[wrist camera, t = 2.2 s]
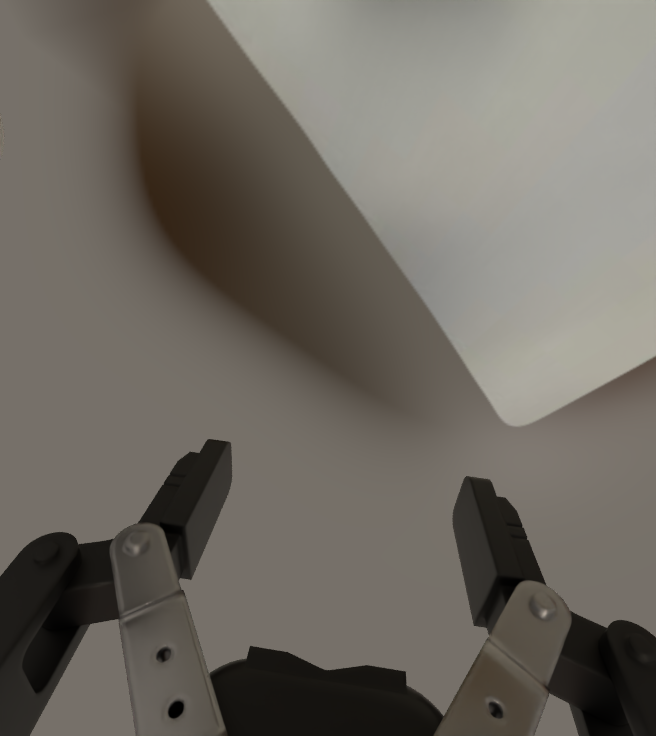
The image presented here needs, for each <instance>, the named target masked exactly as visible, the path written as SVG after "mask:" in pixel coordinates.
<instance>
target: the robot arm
mask: <svg viewBox="0 0 656 736" xmlns="http://www.w3.org/2000/svg"><path fill="white" fill-rule="evenodd" d="M231 481H232V456H231V443H230V442H226V441H219V440H212V439H208V440H207V441H206V443H205V444H204V446H203V448H202V450H201V451H200V453H195V452H189V453H188V454H187V455H185V456H184V457H183V458H181V459H180V460H179V461H178V462H177V463H176V465H175V466H174V468H173V469H172V471H171V473H170V475H169V476H168V477H167V479H166V480H165V482H164V485H162V487H161V488H160V490H159V491H158V493H157V495H156V496H155V498H154V499H153V501H152V502H151V504H150V505H149V507H148V508H147V510H146V512H145V513H144V515H143V516H142V518H141V520H140V521H139V522H138V523H137V524H134V525H131V526H129V527H127V528H125V529H124V530H123V531H121V532H120V533H119V534H118V535H117V536H116V537H115V538H114V539H111V540H106V541H100V542H92V543H85V544H78V543H77V540H76V538H75V537H74V536H73V535H71V534H69V533H64V532H56V533H51V534H47V535H44V536H41V537H39V538H37V539H36V540H34V541H32V542H31V543H29V544H28V545H27V546H26V547H25V548H23V550H22V551H21V552H20V553H19V554H18V555H17V557H16V558H15V559H14V560H13V562H12V563H11V564H10V565H9V566H8V568H7V569H6V570H5V571H4V573H3V574H2V575H1V576H0V736H30V734H31V732H32V730H33V729H34V727H35V725H36V723H37V721H38V719H39V717H40V716H41V714H42V712H43V710H44V708H45V706H46V705H47V703H48V701H49V699H50V697H51V695H52V693H53V692H54V690H55V688H56V686H57V684H58V682H59V680H60V679H61V677H62V675H63V673H64V671H65V670H66V668H67V666H68V664H69V662H70V660H71V658H72V657H73V655H74V653H75V651H76V649H77V647H78V645H79V644H80V642H81V640H82V638H83V636H84V634H85V633H86V631H87V629H88V627H89V625H90V624H92V623H98V622H103V621H109V620H115V619H119V627H120V634H121V640H122V647H123V654H124V660H125V667H126V673H127V680H128V687H129V693H130V700H131V706H132V712H133V719H134V726H135V732H136V736H534V735H535V732H536V729H537V727H538V724H539V721H540V718H541V716H542V713H543V710H544V707H545V705H546V702H547V699H548V696H549V693H550V694H553V695H554V696H556V697H558V698H560V699H562V700H564V701H566V702H568V703H569V705H570V708H571V711H572V714H573V718H574V721H575V724H576V728H577V731H578V734H579V736H656V637H655V636H653V635H652V634H651V633H650V632H648V631H647V630H646V629H644V628H642V627H640V626H639V625H637V624H634V623H632V622H629V621H624V620H617V621H614V622H612V623H611V624H610V625H609V626H608V628H605V627H603V626H601V625H599V624H597V623H594V622H592V621H590V620H587V619H586V618H583V617H581V616H579V615H577V614H575V613H573V612H572V611H570V610H569V608H568V607H567V605H566V603H565V602H564V600H563V599H562V598H561V597H560V596H559V595H558V594H557V593H556V592H555V591H554V590H553V589H551V588H550V587H548V586H547V585H546V583H545V581H544V578H543V576H542V573H541V571H540V568H539V566H538V563H537V561H536V558H535V556H534V553H533V551H532V548H531V546H530V543H529V541H528V540H527V536H526V533H525V531H524V528H522V523H521V521H520V518H519V516H518V513H517V511H516V510H515V508H514V507H513V506H512V505H511V504H510V503H509V501H508V500H507V499H506V498H503V497H497V496H496V493H495V490H494V487H493V485H492V482H491V481H490V480H489V479H483V478H476V477H469V476H466V477H465V478H464V481H463V483H462V486H461V489H460V492H459V495H458V498H457V501H456V504H455V507H454V510H453V529H454V533H455V538H456V543H457V547H458V552H459V557H460V562H461V567H462V572H463V576H464V581H465V585H466V591H467V595H468V600H469V605H470V610H471V614H472V619H473V624H474V626H479V627H486V628H487V630H488V634H489V637H488V639H487V640H486V642H485V643H484V645H483V647H482V649H481V650H480V652H479V654H478V656H477V658H476V660H475V661H474V663H473V665H472V667H471V668H470V670H469V672H468V674H467V676H466V678H465V679H464V681H463V683H462V685H461V686H460V688H459V690H458V692H457V694H456V696H455V697H454V699H453V701H452V703H451V705H450V706H449V708H448V710H447V712H446V714H445V715H444V716H443V715H442V714H441V712H440V711H439V710H438V709H437V708H436V707H435V706H434V705H433V704H432V703H431V702H430V701H429V700H428V699H426V698H425V697H424V696H423V695H422V694H420V693H419V692H417V691H416V690H414V689H412V688H411V687H409V686H406V672H405V671H398V670H393V669H386V668H380V667H374V666H368V665H365V666H358V667H351V668H343V669H336V670H324V669H321V668H319V667H317V666H315V665H313V664H311V663H309V662H307V661H305V660H303V659H301V658H298V657H296V656H294V655H292V654H290V653H288V652H283V651H277V650H271V649H264V648H259V647H253V646H250V648H249V652H248V656H247V659H242V660H237V661H233V662H230V663H228V664H225V665H223V666H221V667H219V668H217V669H215V670H214V671H212V672H210V673H209V672H208V669H207V666H206V662H205V659H204V656H203V652H202V649H201V646H200V642H199V639H198V636H197V632H196V629H195V626H194V622H193V619H192V616H191V612H190V609H189V606H188V602H187V599H186V596H185V593H184V591H183V590H181V587H180V584H179V579H180V578H184V579H190V580H191V579H192V577H193V574H194V572H195V570H196V567H197V565H198V563H199V560H200V558H201V556H202V554H203V551H204V549H205V547H206V544H207V542H208V539H209V537H210V535H211V532H212V530H213V528H214V526H215V523H216V521H217V519H218V516H219V514H220V511H221V509H222V507H223V505H224V502H225V500H226V498H227V495H228V493H229V490H230V486H231Z"/></svg>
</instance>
